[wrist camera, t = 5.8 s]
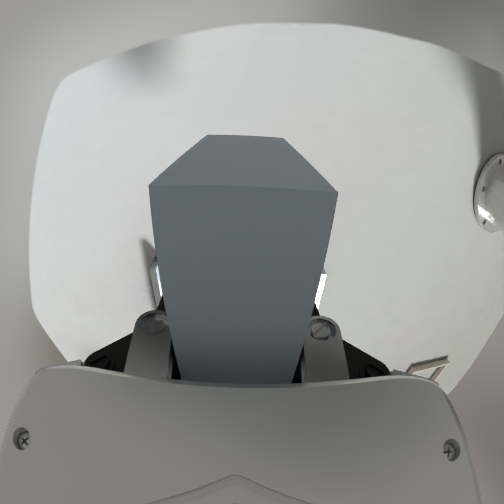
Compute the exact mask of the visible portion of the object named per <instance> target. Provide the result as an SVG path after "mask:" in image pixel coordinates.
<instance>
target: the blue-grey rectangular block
mask: <svg viewBox="0 0 504 504" xmlns="http://www.w3.org/2000/svg"><path fill="white" fill-rule="evenodd" d="M149 195H150V206H151V216H152V225H153V234H154V242H155V249H156V256H157V263H158V270H159V276H160V282H161V288H162V293H163V299H164V304H165V310H166V315H167V320H168V324H169V329H170V334H171V338H172V343H173V347H174V351H175V355H176V359H177V364H178V367H179V371H180V375H181V379H182V380H185V381H197V382H211V383H231V384H291V383H292V380H293V377H294V373H295V370H296V367H297V364H298V361H299V357H300V354H301V351H302V347H303V344H304V340H305V337H306V333H307V330H308V326H309V322H310V319H311V315H312V311H313V307H314V303H315V300H316V296H317V292H318V287H319V283H320V279H321V275H322V271H323V266H324V262H325V257H326V253H327V248H328V243H329V239H330V234H331V229H332V224H333V219H334V213H335V208H336V202H337V197H338V192H337V191H336V190H335V189H334V188H333V187H332V186H331V185H330V184H329V183H328V182H327V180H326V179H325V178H324V177H323V176H322V175H321V174H320V173H319V172H318V171H317V170H316V169H315V168H314V167H313V166H312V165H311V164H310V163H309V162H308V161H307V160H306V159H305V158H304V157H303V156H302V155H300V154H299V153H298V152H297V151H296V150H295V149H294V148H293V147H292V146H291V145H290V144H289V143H288V142H287V141H286V140H285V139H283V138H275V137H261V136H240V135H207V136H205V137H204V138H203V139H202V140H200V141H199V142H198V143H197V144H195V145H194V146H193V147H192V148H190V149H189V150H188V151H187V152H186V153H184V154H183V155H182V156H181V157H180V158H178V159H177V160H176V161H175V162H174V163H173V164H172V165H170V166H169V167H168V168H167V169H166V170H165V171H164V172H162V173H161V174H160V175H159V176H158V177H157V178H156V179H155V180H154V181H153V182H151V183H150V184H149Z"/></svg>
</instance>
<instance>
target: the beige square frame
mask: <svg viewBox="0 0 504 504" xmlns="http://www.w3.org/2000/svg"><path fill="white" fill-rule="evenodd" d="M449 363H450V362H449V361H448V359H443V360H439V361H435V362H431V363H426V364H422V365H417V366H413V367H411V368H410V369H409V371H408V372H407V373H409V374H414V373H418V372H422V371H426V370H430V369H434V368H438V367H439V368H438V369H437V371H436V372H435V373H434V374H433V376H432V377H431V378H430V379H432V380H434V381H436V379H437V378H438V377H439V376H440V375H441V373H442V372H443V371H444V370H445V368H446V367H447V366H448V365H449Z"/></svg>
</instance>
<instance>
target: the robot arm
mask: <svg viewBox="0 0 504 504" xmlns="http://www.w3.org/2000/svg"><path fill="white" fill-rule="evenodd" d="M474 211H475V217H476V219H477V222H478V224H479V225H480V226H481V227H482V228H483V229H484V230H485V231H487V232H491V233H492V232H497V231H499V230H501V231H502V232H503V233H504V154H502V153H500V154H496V155H495V156H493V157H492V158H491V159H490V160H489V161H488V162H487V163H486V165H485V166H484V168H483V170H482V172H481V174H480V176H479V179H478V182H477V186H476V191H475V198H474ZM0 504H482V501H481V495H480V489H479V484H478V479H477V475H476V470H475V467H474V463H473V459H472V456H471V453H470V449H469V446H468V443H467V440H466V437H465V434H464V431H463V428H462V426H461V423H460V421H459V418H458V416H457V414H456V412H455V410H454V407H453V406H452V404H451V402H450V400H449V398H448V397H447V395H446V393H445V392H444V391H443V389H442V388H441V387H440V386H439V385H438V383H437V382H435V381H434V380H432V379H429V378H425V377H421V376H417V375H413V374H409V373H405V372H402V371H398V370H393V371H392V372H391V371H389V369H388V368H387V367H386V365H385V364H383V363H382V362H380V361H379V360H377V359H375V358H373V357H372V356H370V355H368V354H366V353H365V352H363V351H361V350H360V349H358V348H356V347H354V346H353V345H351V344H349V343H347V342H346V341H344V340H342V336H341V332H340V328H339V326H338V325H337V323H336V322H335V321H333V320H332V319H330V318H328V317H325V316H320V315H319V312H318V308H317V305H316V302H315V303H314V307H313V311H312V315H311V319H310V322H309V326H308V330H307V333H306V337H305V340H304V344H303V347H302V351H301V354H300V357H299V361H298V364H297V367H296V370H295V373H294V377H293V380H292V383H291V384H231V383H211V382H197V381H185V380H182V379H181V375H180V371H179V367H178V364H177V359H176V355H175V351H174V347H173V343H172V338H171V334H170V329H169V324H168V320H167V315H166V310H165V304H164V299H163V294H162V297H161V299H160V302H159V305H158V308H157V310H152V311H148V312H145V313H144V314H142V315H141V316H140V317H139V318H138V319H137V321H136V323H135V327H134V331H133V333H131V334H129V335H127V336H125V337H123V338H121V339H119V340H118V341H116V342H114V343H112V344H110V345H108V346H106V347H104V348H102V349H100V350H98V351H96V352H94V353H92V354H91V355H89V357H88V358H87V359H86V361H85V362H82V361H81V360H76V361H71V362H67V363H62V364H57V365H52V366H47V367H43V368H40V369H39V370H38V371H36V373H35V374H34V376H33V377H32V378H31V379H30V380H29V382H28V383H27V385H26V386H25V388H24V390H23V391H22V393H21V395H20V397H19V399H18V401H17V403H16V406H15V408H14V410H13V413H12V415H11V418H10V420H9V423H8V426H7V429H6V432H5V435H4V439H3V442H2V446H1V449H0Z"/></svg>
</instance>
